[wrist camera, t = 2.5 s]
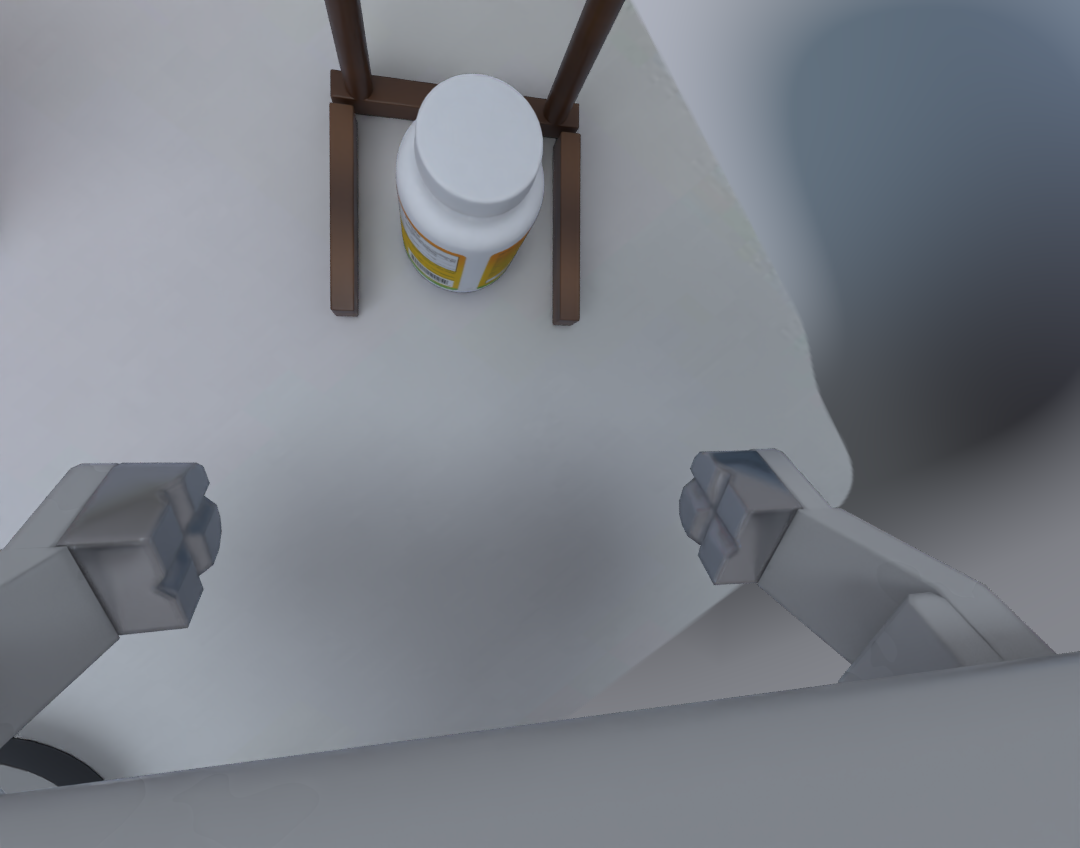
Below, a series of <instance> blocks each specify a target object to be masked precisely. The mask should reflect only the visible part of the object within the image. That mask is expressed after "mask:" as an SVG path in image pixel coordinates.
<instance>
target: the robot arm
mask: <svg viewBox="0 0 1080 848" xmlns="http://www.w3.org/2000/svg"><path fill="white" fill-rule="evenodd" d="M690 470H691V472H692V474H693V476H694V478H693V479H692V480H691V481H690V482H689V483H688V484H686V485H685V486H684V487H683V490H682V493H681V496H680V500H679V515H680V519H681V523H682V526H683V528H684V530H685V532H686V534H687V536H688V537H689V538H691V539H692V540H694V541H695V542H696V543H698V544H699V545H701V546H700V549H699V553H698V556H699V558H700V560H701V562H702V564H703V566H704V568H705V569H706V571H707V573H708V575H709V577H710V579H711V580H712V582H713V584H714V585H722V584H741V583H758V584H757V585H758V586H759V587H760V588H761V589H762V590H764V591H765V592H766V593H767V594H768V595H770V596H771V597H772V598H773V599H774V600H776V601H777V602H778V603H779V604H780V605H781V606H783V607H784V608H785V609H786V610H787V611H789V612H790V613H791V614H792V615H793V616H795V617H796V618H797V619H798V620H799V621H801V622H802V623H803V624H804V625H805V626H807V627H808V628H809V629H810V630H811V631H813V632H814V633H815V634H816V635H817V636H819V637H820V638H821V639H822V640H823V641H824V642H826V643H827V644H828V645H829V646H830V647H832V648H833V649H834V650H835V651H836V652H837V653H839V654H840V655H841V656H843V657H844V658H845V659H846V660H847V661H848V662H849V663H851V664H852V665H851V666H850V667H849V668H848V670H847V671H846V672H845V673H844V675H843V676H842V677H841V678H840V680H839V681H838V683H837V684H830V685H823V686H815V687H807V688H800V689H792V690H785V691H778V692H769V693H762V694H754V695H747V696H739V697H732V698H724V699H717V700H709V701H702V702H694V703H687V704H679V705H672V706H664V707H656V708H649V709H641V710H634V711H626V712H619V713H611V714H603V715H596V716H588V717H581V718H573V719H565V720H558V721H550V722H543V723H535V724H527V725H520V726H512V727H505V728H497V729H490V730H482V731H474V732H467V733H459V734H452V735H444V736H437V737H429V738H422V739H414V740H407V741H399V742H392V743H384V744H377V745H369V746H362V747H354V748H347V749H339V750H332V751H324V752H317V753H309V754H302V755H294V756H287V757H279V758H272V759H264V760H256V761H249V762H241V763H234V764H226V765H219V766H211V767H204V768H196V769H189V770H181V771H174V772H166V773H159V774H151V775H144V776H136V777H129V778H121V779H113V780H106V781H98V782H91V783H83V784H76V785H68V786H61V787H53V788H46V789H38V790H31V791H23V792H16V793H8V794H5V792H4V791H3V790H2V789H1V788H0V848H1080V651H1077V652H1069V653H1062V654H1056V653H1055V652H1054V651H1053V650H1052V649H1051V648H1050V647H1049V646H1048V645H1047V644H1046V643H1045V642H1044V641H1043V640H1042V639H1041V638H1040V637H1039V636H1038V635H1037V634H1036V633H1035V632H1033V630H1031V628H1029V627H1028V626H1027V625H1026V624H1025V623H1024V622H1023V621H1022V620H1021V619H1020V618H1019V617H1018V616H1017V615H1016V614H1015V613H1014V612H1013V611H1012V610H1011V609H1010V608H1009V607H1008V606H1007V605H1006V604H1005V603H1004V602H1003V601H1001V600H1000V599H999V598H998V597H997V596H996V595H995V594H994V593H993V592H992V591H991V590H990V589H989V588H988V587H987V586H986V585H984V584H983V583H981V582H979V581H977V580H975V579H973V578H971V577H969V576H967V575H966V574H963V573H962V572H960V571H958V570H956V569H954V568H952V567H950V566H949V565H947V564H945V563H943V562H941V561H939V560H937V559H936V558H934V557H932V556H930V555H928V554H926V553H924V552H922V551H921V550H919V549H917V548H915V547H913V546H911V545H909V544H907V543H905V542H904V541H902V540H900V539H898V538H896V537H894V536H892V535H890V534H889V533H887V532H885V531H883V530H881V529H879V528H877V527H875V526H873V525H872V524H870V523H868V522H866V521H864V520H862V519H860V518H859V517H857V516H855V515H853V514H851V513H849V512H847V511H845V510H843V509H842V508H832V507H831V506H830V505H829V504H828V502H827V501H826V500H825V499H824V498H823V497H822V496H821V495H820V493H819V492H818V491H817V490H816V489H815V488H814V487H813V486H812V484H811V483H810V482H809V481H808V480H807V479H806V478H805V477H804V475H803V474H802V473H801V472H800V471H799V470H798V469H797V468H796V466H795V465H794V464H793V463H792V462H791V461H790V460H789V458H788V457H787V456H786V455H785V454H784V453H783V452H781V451H779V450H777V449H775V448H772V449H751V450H741V451H705V452H699V453H698V454H697V455H696V457H695V458H694V460H693V462H692V465H691V468H690ZM209 484H210V482H209V480H208V477H207V474H206V472H205V469H204V467H203V466H202V465H200V464H198V463H121V464H118V463H87V464H80V465H77V466H75V467H73V468H71V469H70V470H69V471H68V472H67V473H66V474H65V476H64V477H63V478H62V479H61V480H60V482H59V483H58V484H57V485H56V486H55V488H54V489H53V490H52V491H51V492H50V494H49V495H48V496H47V497H46V498H45V500H44V501H43V502H42V503H41V504H40V505H39V507H38V508H37V509H36V510H35V511H34V513H33V514H32V515H31V516H30V517H29V519H28V520H27V521H26V522H25V523H24V525H23V526H22V527H21V528H20V529H19V531H18V532H17V533H16V534H15V535H14V537H13V538H12V539H11V540H10V541H9V543H8V544H7V545H6V546H5V547H4V549H1V550H0V748H1V747H2V746H3V745H4V744H6V743H7V742H8V741H9V740H10V739H11V738H12V737H13V736H14V735H15V734H16V733H18V732H19V731H20V730H21V729H22V728H23V727H24V726H25V725H26V724H27V723H28V722H30V721H31V720H32V719H33V718H34V717H35V716H36V715H37V714H38V713H39V712H40V711H41V710H43V709H44V708H45V707H46V706H47V705H48V704H49V703H50V702H51V701H52V700H53V699H55V698H56V697H57V696H58V695H59V694H60V693H61V692H62V691H63V690H64V689H65V688H67V687H68V686H69V685H70V684H71V683H72V682H73V681H74V680H75V679H76V678H77V677H78V676H80V675H81V674H82V673H83V672H84V671H85V670H86V669H87V668H88V667H89V666H90V665H92V664H93V663H94V662H95V661H96V660H97V659H98V658H99V657H100V656H101V655H102V654H103V653H105V652H106V651H107V650H108V649H109V648H110V647H111V646H112V645H113V644H114V643H115V642H117V641H118V640H119V638H120V637H119V636H118V635H126V634H135V633H145V632H154V631H164V630H173V629H183V628H188V626H189V624H190V621H191V619H192V616H193V614H194V612H195V609H196V607H197V604H198V602H199V599H200V597H201V594H202V592H203V586H202V583H201V581H200V578H199V576H200V575H201V574H202V573H203V572H205V571H206V570H207V569H208V568H210V567H211V566H212V565H213V564H214V562H215V559H216V556H217V554H218V551H219V547H220V540H221V532H222V529H221V519H220V514H219V511H218V507H217V505H216V504H215V503H214V502H212V501H211V500H209V499H208V498H207V497H205V496H204V494H205V492H206V490H207V488H208V486H209Z"/></svg>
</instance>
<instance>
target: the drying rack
mask: <svg viewBox="0 0 1080 848" xmlns="http://www.w3.org/2000/svg"><path fill="white" fill-rule="evenodd" d="M324 1H325V5H326V9H327V13H328V17H329V22H330V26H331V30H332V34H333V39H334V43H335V47H336V51H337V55H338V60H339V64H340V68H341V71H339V70H331V71H330V86H331V99H332V102H333V103H330V104H329V111H330V301H331V310H332V311H333V313H334V314H335V315H336V316H353V317H357V316H358V159H357V120H356V115H355V113H357V114H365V115H373V116H381V117H389V118H398V119H406V120H414V121H415V120H416V119H417V115H418V111H419V109H420V107H421V104H422V102H423V101H424V99H425V97H426V96H427V95H428V94H429V92H430V91H431V90H432V89H433V88H434V87H436V86H437V85H438V84H433V83H426V82H418V81H411V80H404V79H397V78H390V77H382V76H375V75H371V70H370V63H369V57H368V50H367V43H366V37H365V30H364V23H363V17H362V10H361V3H360V0H324ZM624 1H625V0H587V1H586V3H585V6H584V8H583V11H582V13H581V16H580V18H579V21H578V23H577V26H576V28H575V30H574V33H573V35H572V38H571V40H570V43H569V45H568V48H567V50H566V53H565V55H564V58H563V60H562V63H561V65H560V68H559V70H558V73H557V75H556V78H555V80H554V83H553V85H552V88H551V90H550V93H549V95H548V98H547V99H541V98H534V97H527V96H523V97H524V98H525V99H526V100H527V101H528V103H529V104H530V106H531V107H532V109H533V110H534V112H535V114H536V116H537V118H538V121H539V123H540V127H541V131H542V136H545V137H553V138H558V139H557V141H556V143H555V145H554V169H553V325H573V324H574V323H576V322H578V321H579V320H580V145H581V135H580V134H578V133H576V132H577V130H578V128H579V104H577V103H574V102H575V100H576V98H577V96H578V94H579V92H580V90H581V88H582V86H583V84H584V82H585V80H586V78H587V76H588V74H589V72H590V70H591V68H592V66H593V64H594V62H595V60H596V58H597V56H598V54H599V52H600V50H601V48H602V46H603V44H604V42H605V40H606V38H607V36H608V34H609V32H610V30H611V28H612V26H613V24H614V21H615V19H616V17H617V15H618V13H619V11H620V9H621V7H622V5H623V3H624Z"/></svg>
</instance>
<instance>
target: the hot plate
mask: <svg viewBox="0 0 1080 848" xmlns="http://www.w3.org/2000/svg"><path fill="white" fill-rule="evenodd" d="M98 781H103V780H102V779H101V778H100V777H99V776H98V775H97V774H96V773H95V772H93V771H92V770H91V769H90V768H89V767H87V766H86V765H85V764H83V763H81V762H80V761H78V760H77V759H75V758H73V757H72V756H70V755H68V754H66V753H63V752H61V751H59V750H56V749H54V748H52V747H49V746H46V745H42V744H39V743H35V742H32V741H26V740H20V739H14V738H11V739H10V740H9V741H8V742H7V743H6V744H4V745H3V746H2V747H1V748H0V788H1V789H2V790H3V791H4V792H5V794H8V793H16V792H23V791H31V790H38V789H46V788H53V787H61V786H68V785H76V784H83V783H91V782H98Z"/></svg>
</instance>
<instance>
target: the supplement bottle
mask: <svg viewBox="0 0 1080 848" xmlns="http://www.w3.org/2000/svg"><path fill="white" fill-rule="evenodd" d="M542 156H543V137H542V131H541V127H540V123H539V121H538V118H537V116H536V114H535V112H534V110H533V109H532V107H531V106H530V104H529V103H528V101H527V100H526V99H525V98H524V97H523V96H522V95H521V94H520V93H519V92H518V91H517V90H516V89H514V88H513V87H512V86H510V85H509V84H507V83H506V82H504V81H502V80H500V79H497V78H495V77H492V76H489V75H484V74H476V73H469V74H461V75H457V76H454V77H451V78H448V79H446V80H444V81H442V82H441V83H439V84H438V85H437V86H436V87H434V88H433V89H432V90H431V91H430V92H429V94H428V95H427V96H426V97H425V99H424V101H423V102H422V104H421V107H420V109H419V111H418V115H417V119H416V120H415V121H414V122H413V123H412V124H411V126H410V127H409V128H408V130H407V131H406V133H405V135H404V137H403V139H402V141H401V144H400V147H399V150H398V154H397V160H396V186H397V194H398V200H399V211H400V218H401V227H402V235H403V241H404V246H405V249H406V252H407V255H408V257H409V259H410V260H411V262H412V264H413V265H414V267H415V268H416V269H417V271H418V272H419V273H420V274H421V275H422V276H423V277H424V278H425V279H427V280H428V281H429V282H431V283H432V284H434V285H436V286H438V287H440V288H443V289H445V290H449V291H453V292H471V291H476V290H480V289H482V288H485V287H487V286H489V285H490V284H492V283H493V282H495V281H496V280H497V279H498V278H499V277H500V276H501V275H502V274H503V273H504V272H505V270H506V269H507V268H508V266H509V265H510V263H511V261H512V260H513V258H514V256H515V254H516V252H517V251H518V249H519V247H520V246H521V244H522V242H523V241H524V239H525V237H526V236H527V234H528V232H529V230H530V229H531V227H532V226H533V224H534V222H535V220H536V218H537V215H538V213H539V211H540V208H541V205H542V201H543V195H544V172H543V167H542V163H541V161H542Z"/></svg>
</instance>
